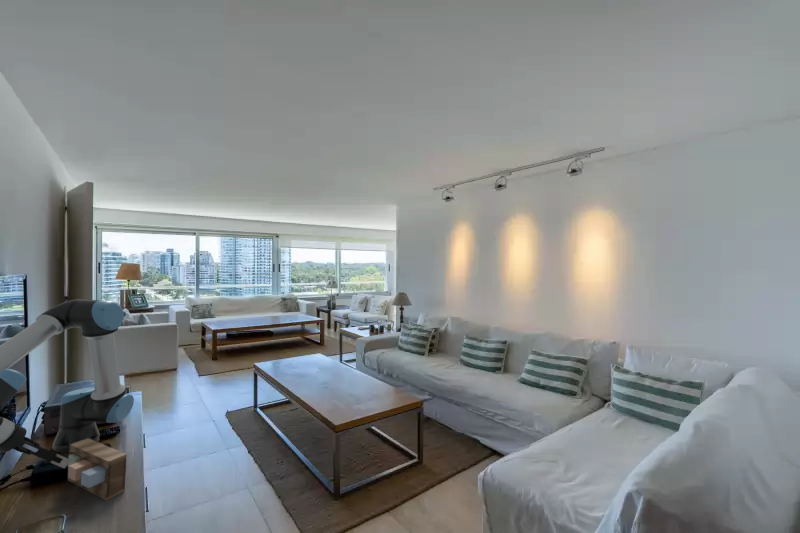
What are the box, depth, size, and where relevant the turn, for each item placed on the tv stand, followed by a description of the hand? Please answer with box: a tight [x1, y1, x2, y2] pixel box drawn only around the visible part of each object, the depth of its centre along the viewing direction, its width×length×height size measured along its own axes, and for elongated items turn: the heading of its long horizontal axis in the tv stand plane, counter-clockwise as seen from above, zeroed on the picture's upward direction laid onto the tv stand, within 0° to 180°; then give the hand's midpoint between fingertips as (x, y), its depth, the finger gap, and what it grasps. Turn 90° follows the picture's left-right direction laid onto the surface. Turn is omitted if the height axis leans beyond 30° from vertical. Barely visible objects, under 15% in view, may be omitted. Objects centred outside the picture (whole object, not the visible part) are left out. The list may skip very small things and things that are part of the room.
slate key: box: [81, 465, 106, 488], centre depth 120 cm, size 4×5×4 cm
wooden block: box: [67, 438, 128, 501], centre depth 128 cm, size 24×6×13 cm, turn 66°
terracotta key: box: [67, 459, 93, 481], centre depth 124 cm, size 4×5×4 cm
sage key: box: [67, 453, 80, 467], centre depth 130 cm, size 4×5×4 cm
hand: (66, 463), depth 126 cm, fingers closed
